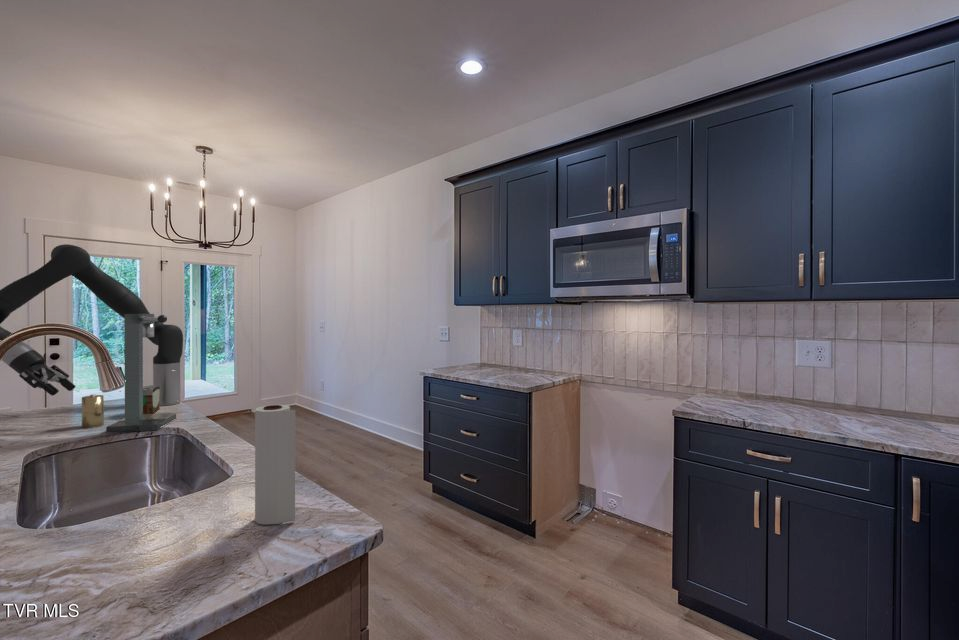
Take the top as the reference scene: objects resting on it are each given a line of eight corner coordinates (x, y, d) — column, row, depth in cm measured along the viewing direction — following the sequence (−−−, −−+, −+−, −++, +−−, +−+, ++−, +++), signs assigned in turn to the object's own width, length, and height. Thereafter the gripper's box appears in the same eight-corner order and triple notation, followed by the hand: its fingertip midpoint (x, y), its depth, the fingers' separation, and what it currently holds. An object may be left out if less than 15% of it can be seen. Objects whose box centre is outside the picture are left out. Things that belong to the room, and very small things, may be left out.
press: (130, 421, 152) (129, 313, 151) (183, 418, 156) (183, 314, 156) (106, 433, 137) (105, 314, 137) (165, 429, 142) (165, 314, 141)
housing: (87, 424, 148) (87, 393, 147) (107, 423, 149) (107, 393, 149) (77, 428, 142) (77, 396, 142) (97, 427, 144) (97, 396, 144)
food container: (141, 411, 168) (141, 385, 168) (160, 409, 170) (160, 384, 170) (131, 418, 157) (131, 390, 156) (152, 416, 159) (152, 389, 159)
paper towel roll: (252, 516, 83) (252, 405, 83) (285, 508, 87) (285, 402, 86) (259, 531, 77) (259, 413, 77) (295, 522, 81) (295, 408, 81)
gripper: (14, 351, 134) (60, 386, 137) (46, 347, 148) (87, 379, 151) (-7, 368, 133) (39, 404, 136) (27, 363, 146) (69, 395, 150)
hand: (64, 391), depth 143 cm, fingers open, 8 cm apart
